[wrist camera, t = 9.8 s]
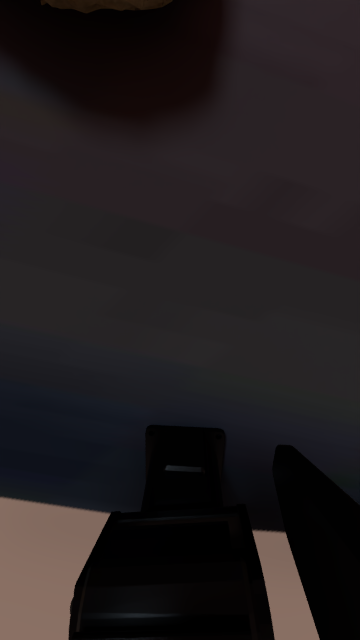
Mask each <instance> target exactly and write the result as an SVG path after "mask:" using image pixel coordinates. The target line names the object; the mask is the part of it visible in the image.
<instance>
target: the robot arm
mask: <svg viewBox="0 0 360 640" xmlns="http://www.w3.org/2000/svg"><path fill="white" fill-rule="evenodd" d="M150 431H153V433H152V432H150ZM218 434H220V436H216V435H218ZM145 437H146V485H145V491H144V496H143V502H142V507H141V512H128V513H121V512H120V511H116V512H111V514H110V516H109V518H108V520H107V522H106V524H105V526H104V528H103V530H102V532H101V534H100V536H99V538H98V540H97V542H96V544H95V546H94V548H93V550H92V552H91V554H90V556H89V558H88V560H87V562H86V564H85V566H84V568H83V570H82V572H81V574H80V576H79V578H78V580H77V582H76V585H75V589H74V597H73V599H72V602H71V606H70V614H71V616H70V625H69V640H275V639H274V632H273V626H272V619H271V613H270V607H269V602H268V596H267V591H266V586H265V581H264V576H263V572H262V567H261V563H260V559H259V555H258V551H257V548H256V544H255V540H254V536H253V532H252V528H251V525H250V521H249V517H248V513H247V509H246V506H245V504H237V506H231V507H223V500H222V492H221V484H220V482H221V472H222V462H223V452H224V441H225V435H224V431H223V430H222V429H219V428H201V427H181V426H161V425H150V426H148V427H147V429H146V433H145ZM272 470H273V477H274V482H275V486H276V491H277V495H278V500H279V504H280V509H281V513H282V518H283V522H284V527H285V531H286V535H287V538H288V542H289V545H290V548H291V551H292V555H293V558H294V560H295V564H296V567H297V570H298V573H299V576H300V579H301V582H302V585H303V588H304V592H305V595H306V598H307V601H308V604H309V607H310V610H311V613H312V616H313V620H314V623H315V626H316V629H317V632H318V635H319V638H320V640H360V505H359V504H358V503H357V502H356V501H354V500H353V499H352V498H351V497H350V496H349V495H348V494H346V493H345V492H344V491H343V490H342V489H341V488H340V487H338V486H337V485H336V484H335V483H334V482H333V481H332V480H331V479H329V478H328V477H327V476H326V475H325V474H324V473H323V472H321V471H320V470H319V469H318V468H317V467H316V466H315V465H314V464H312V463H311V462H310V461H309V460H308V459H307V458H306V457H304V456H303V455H302V454H301V453H300V452H299V451H298V450H296V449H295V448H294V447H293V446H291V445H277V447H276V450H275V456H274V461H273V469H272Z"/></svg>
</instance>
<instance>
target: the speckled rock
mask: <svg viewBox="0 0 360 640" xmlns="http://www.w3.org/2000/svg"><path fill="white" fill-rule="evenodd" d="M172 1H173V0H40V2H41V5H44V4H46V3H48V4H49V5H50V6H52V7H56V8H59V9H75V10H77V11H80V12H83V13H89V12H92V11H95V10H98V9H115V10H119V11H123V10H125V9H126V10H134V11H136V10H148V9H155V8H160V7H164V6H165V5H167V4H168V3H170V2H172Z"/></svg>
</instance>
